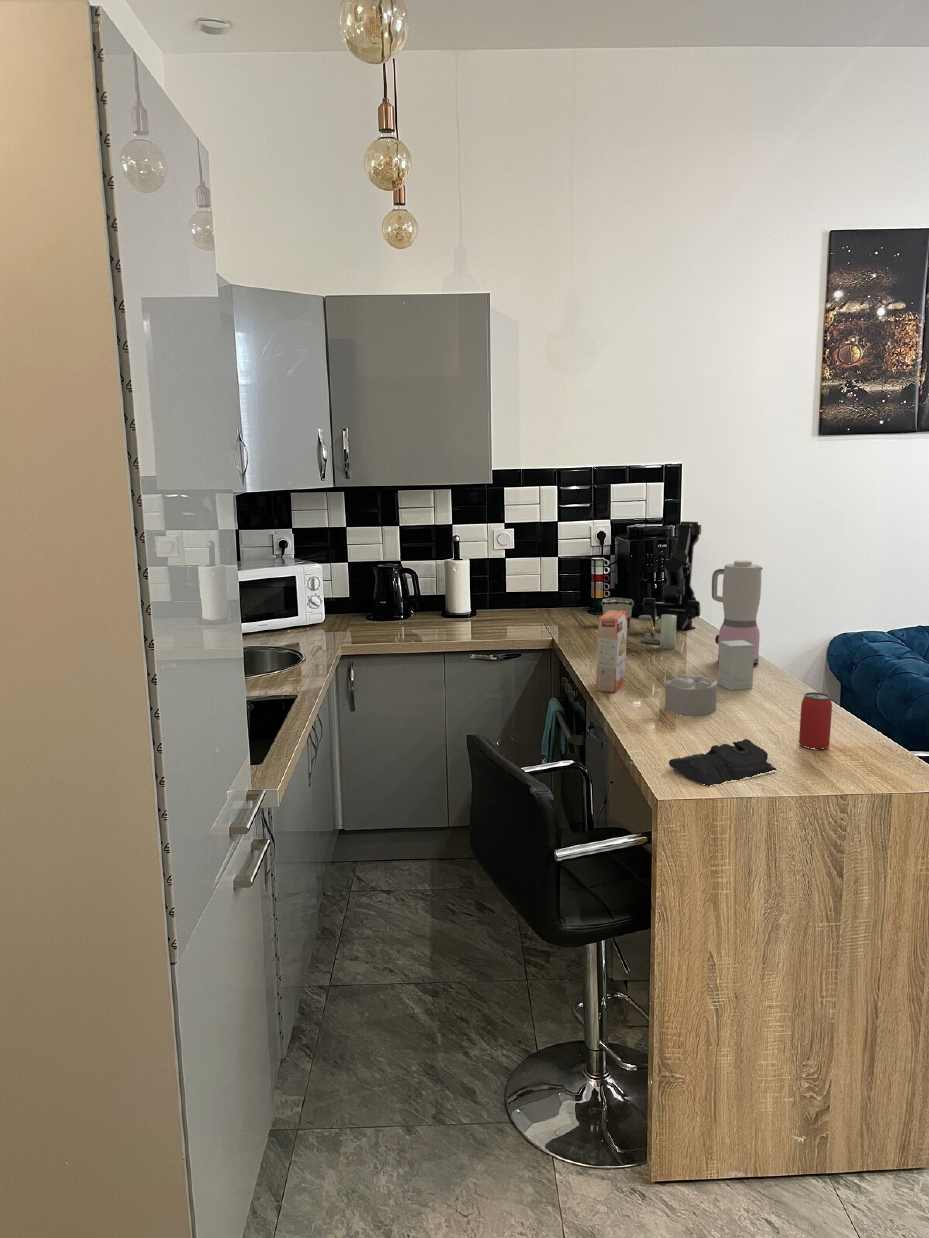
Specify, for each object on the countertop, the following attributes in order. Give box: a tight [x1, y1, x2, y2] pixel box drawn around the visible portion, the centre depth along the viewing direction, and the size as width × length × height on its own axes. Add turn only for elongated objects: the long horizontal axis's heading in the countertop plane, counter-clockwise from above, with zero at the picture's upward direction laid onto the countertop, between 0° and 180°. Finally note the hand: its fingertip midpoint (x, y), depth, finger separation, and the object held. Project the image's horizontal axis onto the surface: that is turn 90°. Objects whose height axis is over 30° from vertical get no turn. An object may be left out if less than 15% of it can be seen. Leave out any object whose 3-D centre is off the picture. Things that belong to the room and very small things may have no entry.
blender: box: [711, 559, 764, 665], centre depth 294 cm, size 16×12×32 cm
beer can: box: [798, 691, 833, 749], centre depth 216 cm, size 7×7×12 cm
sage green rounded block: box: [659, 613, 677, 651], centre depth 317 cm, size 5×5×11 cm
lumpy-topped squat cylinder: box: [664, 673, 718, 717], centre depth 245 cm, size 10×13×9 cm
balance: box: [638, 614, 661, 646], centre depth 334 cm, size 23×9×6 cm, turn 179°
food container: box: [600, 597, 635, 627], centre depth 355 cm, size 12×6×10 cm, turn 84°
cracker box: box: [595, 610, 628, 694], centre depth 267 cm, size 14×6×21 cm, turn 160°
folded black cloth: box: [668, 738, 778, 787], centre depth 202 cm, size 15×22×5 cm
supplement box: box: [717, 640, 755, 691], centre depth 268 cm, size 7×7×13 cm
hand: (667, 627), depth 316 cm, fingers open, 9 cm apart
